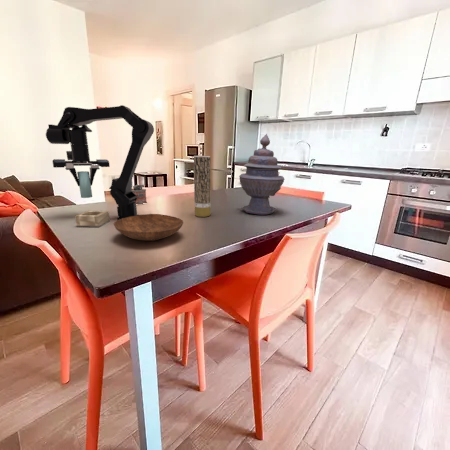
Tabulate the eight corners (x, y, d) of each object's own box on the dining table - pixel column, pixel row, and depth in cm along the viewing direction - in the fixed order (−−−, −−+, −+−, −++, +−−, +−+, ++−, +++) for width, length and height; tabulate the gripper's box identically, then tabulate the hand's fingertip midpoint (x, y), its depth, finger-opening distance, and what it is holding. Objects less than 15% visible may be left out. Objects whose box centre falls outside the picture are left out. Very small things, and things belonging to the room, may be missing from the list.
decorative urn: (226, 209, 115) (234, 130, 105) (254, 206, 128) (264, 136, 119) (259, 220, 101) (272, 130, 91) (287, 215, 114) (301, 137, 105)
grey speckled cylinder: (211, 213, 109) (211, 155, 102) (209, 217, 102) (209, 155, 95) (196, 213, 109) (195, 155, 102) (193, 217, 103) (191, 155, 96)
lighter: (134, 205, 123) (133, 185, 120) (131, 204, 125) (129, 185, 122) (148, 203, 129) (146, 184, 127) (144, 202, 131) (143, 183, 128)
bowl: (155, 224, 92) (154, 211, 91) (196, 236, 79) (196, 221, 77) (103, 236, 77) (101, 221, 76) (142, 254, 64) (141, 236, 63)
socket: (109, 221, 95) (108, 211, 93) (99, 227, 87) (97, 216, 86) (89, 220, 95) (87, 210, 93) (76, 226, 87) (75, 216, 86)
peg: (94, 196, 100) (91, 171, 97) (88, 198, 96) (85, 172, 93) (84, 196, 100) (81, 171, 97) (78, 197, 96) (74, 172, 93)
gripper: (102, 145, 104) (107, 182, 108) (49, 143, 94) (56, 184, 98) (107, 145, 95) (112, 185, 99) (49, 143, 85) (57, 188, 89)
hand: (85, 185), depth 97 cm, fingers closed on peg, 4 cm apart
